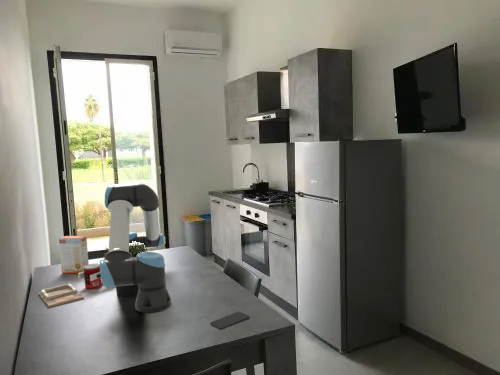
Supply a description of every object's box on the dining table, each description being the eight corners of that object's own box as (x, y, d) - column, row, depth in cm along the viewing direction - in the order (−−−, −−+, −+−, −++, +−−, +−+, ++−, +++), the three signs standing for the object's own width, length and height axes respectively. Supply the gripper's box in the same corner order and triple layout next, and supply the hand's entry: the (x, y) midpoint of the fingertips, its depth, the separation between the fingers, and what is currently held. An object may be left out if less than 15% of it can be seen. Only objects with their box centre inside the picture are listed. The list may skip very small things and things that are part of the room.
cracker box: (89, 271, 227) (87, 235, 225) (83, 274, 222) (80, 238, 220) (68, 270, 231) (65, 235, 229) (61, 273, 225) (58, 237, 223)
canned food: (104, 284, 204) (102, 263, 203) (96, 289, 196) (95, 268, 195) (90, 284, 205) (88, 263, 204) (82, 289, 197) (80, 268, 196)
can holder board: (84, 298, 184) (83, 293, 184) (48, 307, 175) (48, 302, 175) (71, 287, 201) (71, 282, 201) (38, 294, 192) (38, 289, 192)
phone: (208, 322, 153) (238, 311, 162) (208, 324, 153) (238, 313, 162) (219, 329, 147) (250, 316, 157) (220, 331, 147) (250, 318, 157)
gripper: (133, 273, 211) (100, 287, 191) (105, 269, 221) (71, 282, 200) (132, 259, 211) (99, 272, 190) (104, 256, 220) (69, 267, 200)
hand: (84, 277), depth 195 cm, fingers closed on canned food, 8 cm apart
